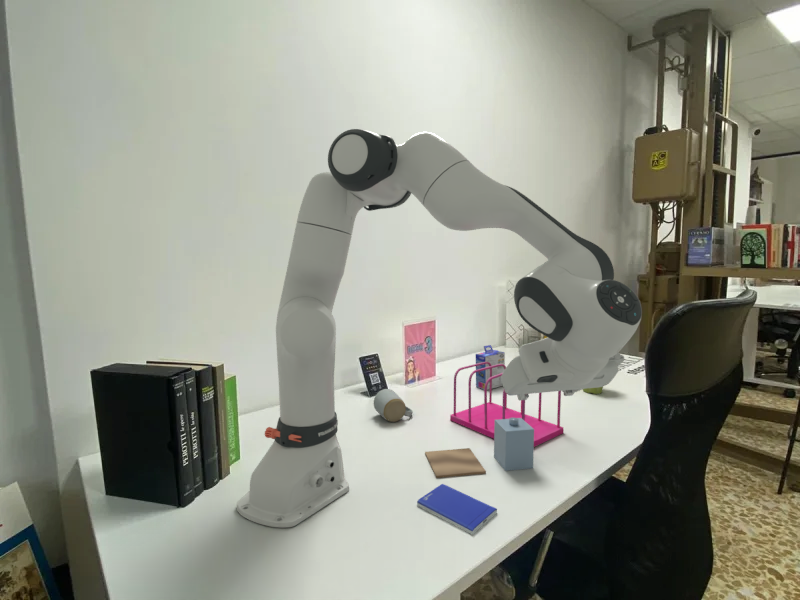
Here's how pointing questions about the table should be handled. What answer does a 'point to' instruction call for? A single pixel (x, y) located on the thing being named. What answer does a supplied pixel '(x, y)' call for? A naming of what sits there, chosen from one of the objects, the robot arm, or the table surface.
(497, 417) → the file sorter
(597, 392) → the plant pot
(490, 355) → the ink cartridge box
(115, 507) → the table surface
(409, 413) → the ceramic mug
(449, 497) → the hard drive
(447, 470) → the coaster
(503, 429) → the grey block with knob
